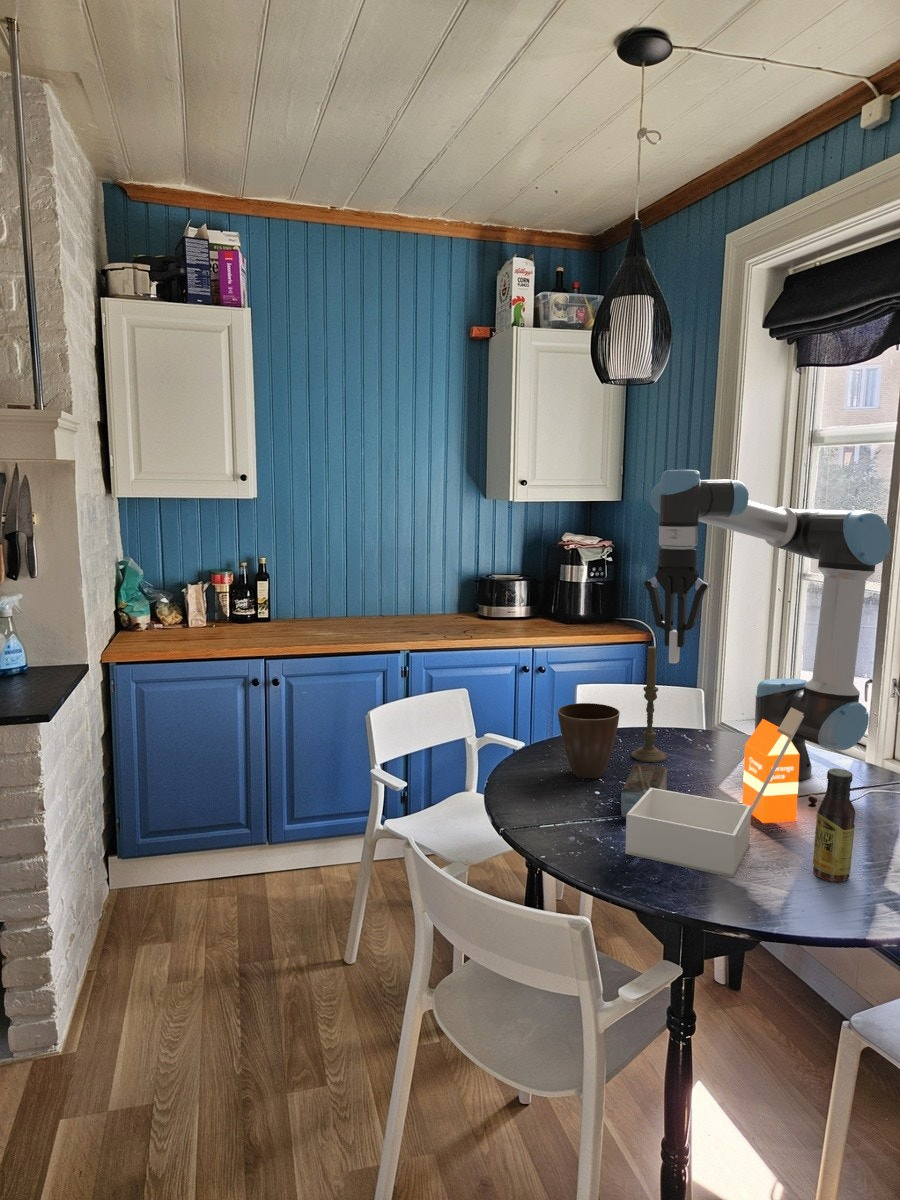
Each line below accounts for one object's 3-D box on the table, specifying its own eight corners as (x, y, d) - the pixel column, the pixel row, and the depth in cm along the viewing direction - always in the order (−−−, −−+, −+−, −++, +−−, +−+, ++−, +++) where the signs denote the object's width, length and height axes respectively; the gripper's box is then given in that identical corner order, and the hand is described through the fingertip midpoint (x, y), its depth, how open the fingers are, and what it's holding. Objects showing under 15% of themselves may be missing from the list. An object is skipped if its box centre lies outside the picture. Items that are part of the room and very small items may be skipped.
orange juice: (762, 823, 171) (767, 731, 168) (741, 807, 180) (745, 719, 177) (797, 820, 172) (802, 729, 170) (774, 804, 181) (778, 717, 178)
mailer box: (625, 853, 157) (626, 814, 156) (649, 824, 171) (650, 787, 170) (733, 877, 147) (734, 835, 146) (749, 844, 161) (751, 805, 160)
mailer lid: (777, 729, 140) (793, 737, 139) (791, 706, 154) (805, 713, 153) (725, 828, 147) (739, 836, 145) (743, 798, 161) (756, 805, 160)
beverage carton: (618, 817, 175) (619, 788, 174) (633, 787, 193) (633, 760, 192) (656, 822, 172) (657, 792, 171) (667, 791, 190) (668, 764, 189)
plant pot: (577, 788, 191) (578, 722, 189) (545, 768, 205) (546, 706, 203) (630, 779, 197) (632, 714, 195) (596, 760, 211) (597, 700, 209)
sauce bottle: (805, 868, 151) (811, 765, 148) (838, 867, 151) (844, 764, 148) (824, 885, 144) (831, 778, 141) (858, 884, 145) (865, 776, 142)
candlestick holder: (670, 762, 209) (674, 647, 205) (635, 762, 209) (638, 647, 205) (662, 751, 218) (665, 641, 214) (627, 751, 218) (630, 641, 214)
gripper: (640, 547, 164) (637, 662, 167) (706, 549, 158) (702, 669, 161) (651, 545, 171) (648, 655, 174) (715, 547, 164) (710, 661, 167)
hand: (674, 662), depth 167 cm, fingers closed
